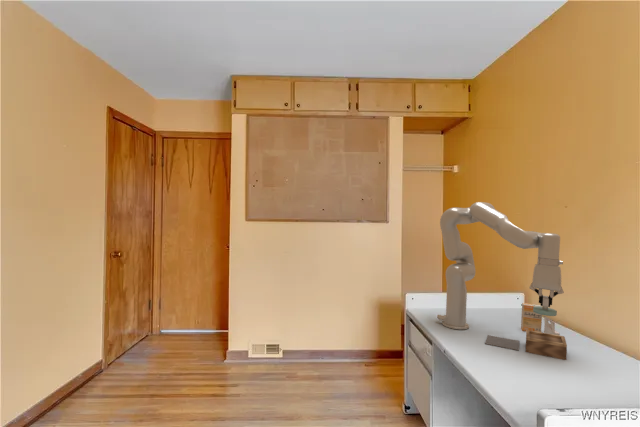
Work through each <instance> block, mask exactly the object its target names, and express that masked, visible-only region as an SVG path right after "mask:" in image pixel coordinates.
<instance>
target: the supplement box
mask: <svg viewBox="0 0 640 427" xmlns="http://www.w3.org/2000/svg"><path fill="white" fill-rule="evenodd" d="M535 306H539V307H542V306H541V305H540V304H533V303H527V302H522V304H521V321H520V323H521V324H520V329H521V331H523V332H526V330H530V331H536V332H542V324H543V323H542V320H543V315H541V314H537V313H535V312H533V307H535Z"/></svg>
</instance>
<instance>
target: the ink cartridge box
mask: <svg viewBox="0 0 640 427" xmlns="http://www.w3.org/2000/svg"><path fill="white" fill-rule="evenodd" d="M543 322H544V327H543V328H544V329H543V333H547V334H553V335H559V336H561V334H560V332H558V331H557V330H556V328H555V327H556V326H555V325H556V324H555V323H556V322H554V321H553V320H551V319H550V318H548V316H546V315H543Z"/></svg>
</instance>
